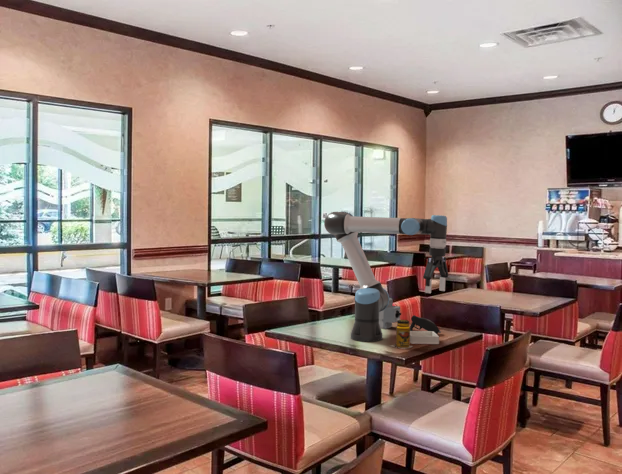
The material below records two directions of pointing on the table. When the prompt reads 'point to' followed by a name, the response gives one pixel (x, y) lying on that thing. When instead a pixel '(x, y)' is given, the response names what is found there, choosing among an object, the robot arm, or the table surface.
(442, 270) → the robot arm
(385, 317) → the circuit breaker
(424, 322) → the gun
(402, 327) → the condiment
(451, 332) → the table surface
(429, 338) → the tray
